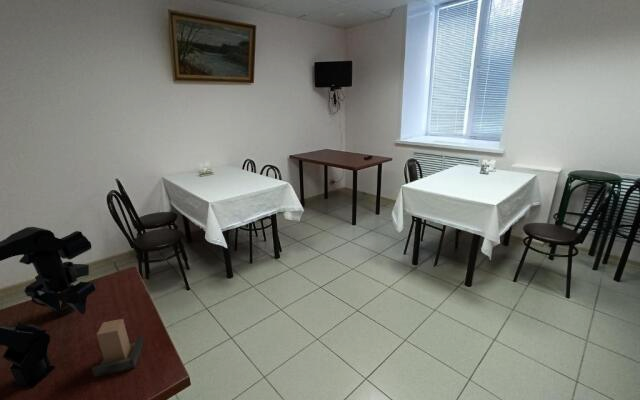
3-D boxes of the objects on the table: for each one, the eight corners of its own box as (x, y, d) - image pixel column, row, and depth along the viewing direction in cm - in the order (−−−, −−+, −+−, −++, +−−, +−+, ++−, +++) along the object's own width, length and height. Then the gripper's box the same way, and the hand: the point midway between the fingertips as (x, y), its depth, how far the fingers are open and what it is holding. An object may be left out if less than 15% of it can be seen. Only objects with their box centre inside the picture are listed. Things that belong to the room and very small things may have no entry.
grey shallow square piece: (94, 377, 82) (91, 369, 81) (107, 349, 91) (105, 342, 90) (135, 367, 84) (133, 359, 83) (143, 342, 93) (141, 334, 92)
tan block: (106, 365, 85) (96, 334, 81) (112, 352, 89) (103, 322, 86) (126, 361, 86) (117, 330, 83) (130, 348, 91) (122, 318, 87)
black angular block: (86, 303, 112) (79, 281, 109) (65, 319, 104) (57, 295, 101) (58, 302, 113) (50, 279, 110) (35, 317, 105) (26, 293, 102)
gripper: (102, 255, 88) (118, 296, 94) (53, 250, 92) (71, 290, 98) (66, 278, 78) (86, 323, 84) (12, 272, 82) (36, 315, 88)
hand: (71, 311), depth 89 cm, fingers open, 9 cm apart
